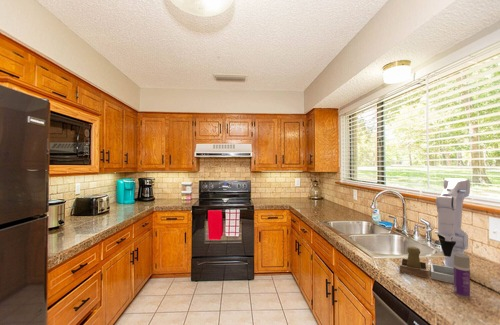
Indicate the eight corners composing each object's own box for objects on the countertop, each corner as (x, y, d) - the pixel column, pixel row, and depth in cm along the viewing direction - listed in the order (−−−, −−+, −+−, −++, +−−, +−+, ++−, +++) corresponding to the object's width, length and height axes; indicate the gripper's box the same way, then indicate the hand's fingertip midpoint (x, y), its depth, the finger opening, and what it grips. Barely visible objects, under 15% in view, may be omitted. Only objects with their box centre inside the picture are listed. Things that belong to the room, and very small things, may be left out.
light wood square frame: (400, 263, 122) (400, 257, 122) (427, 269, 116) (427, 262, 116) (399, 271, 113) (399, 265, 113) (428, 277, 107) (428, 271, 107)
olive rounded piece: (408, 272, 112) (407, 248, 113) (404, 266, 118) (404, 244, 118) (423, 274, 110) (423, 250, 111) (419, 268, 116) (419, 245, 116)
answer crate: (430, 269, 115) (430, 263, 115) (460, 275, 109) (460, 269, 109) (431, 278, 106) (431, 271, 106) (464, 285, 100) (464, 278, 100)
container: (465, 298, 90) (465, 258, 90) (451, 292, 94) (450, 254, 95) (472, 296, 92) (472, 256, 92) (458, 290, 96) (457, 252, 96)
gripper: (433, 218, 116) (433, 247, 116) (436, 224, 104) (436, 256, 104) (452, 220, 112) (452, 250, 112) (457, 227, 100) (457, 260, 100)
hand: (446, 253), depth 107 cm, fingers open, 7 cm apart
